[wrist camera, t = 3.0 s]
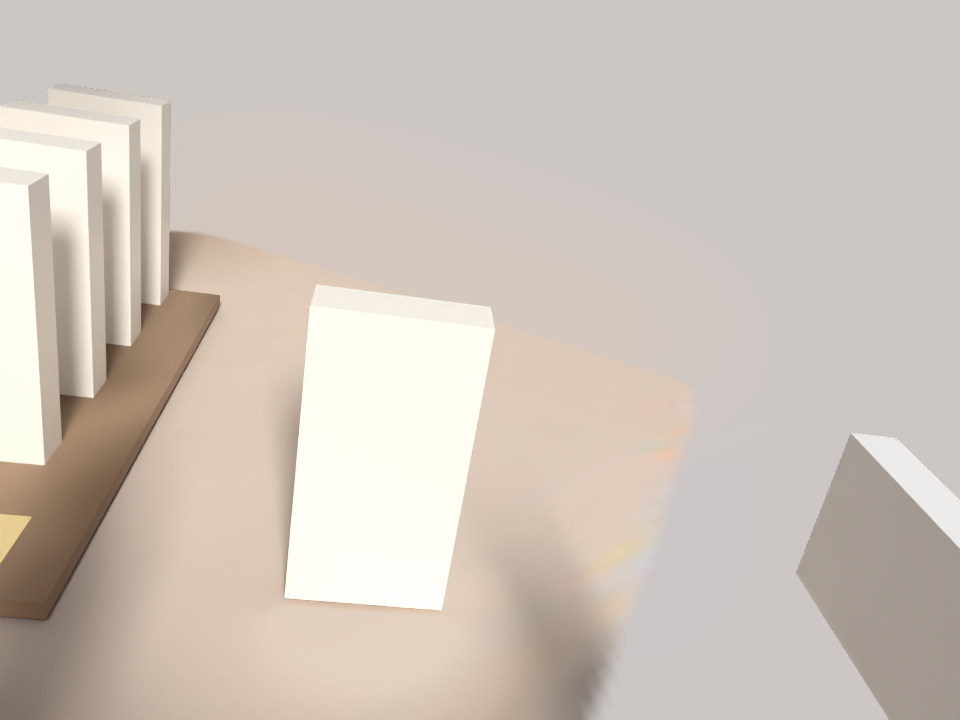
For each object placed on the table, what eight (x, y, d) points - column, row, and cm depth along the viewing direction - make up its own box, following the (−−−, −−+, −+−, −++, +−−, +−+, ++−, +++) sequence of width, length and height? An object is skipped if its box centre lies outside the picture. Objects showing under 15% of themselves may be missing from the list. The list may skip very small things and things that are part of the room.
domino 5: (441, 610, 27) (495, 328, 23) (284, 597, 26) (310, 305, 22) (440, 577, 29) (490, 306, 24) (290, 564, 28) (316, 284, 24)
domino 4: (160, 305, 43) (161, 105, 39) (57, 292, 42) (47, 88, 38) (168, 294, 44) (170, 100, 40) (69, 281, 44) (61, 83, 40)
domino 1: (130, 346, 38) (128, 125, 34) (15, 332, 38) (-1, 106, 34) (141, 332, 40) (140, 118, 36) (29, 318, 39) (16, 99, 35)
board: (-345, 591, 23) (-351, 573, 22) (24, 281, 44) (24, 270, 44) (45, 619, 24) (44, 603, 24) (219, 305, 46) (219, 295, 45)
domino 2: (93, 398, 34) (86, 151, 30) (-39, 383, 33) (-65, 129, 29) (106, 379, 35) (101, 142, 31) (-20, 366, 35) (-43, 121, 31)
